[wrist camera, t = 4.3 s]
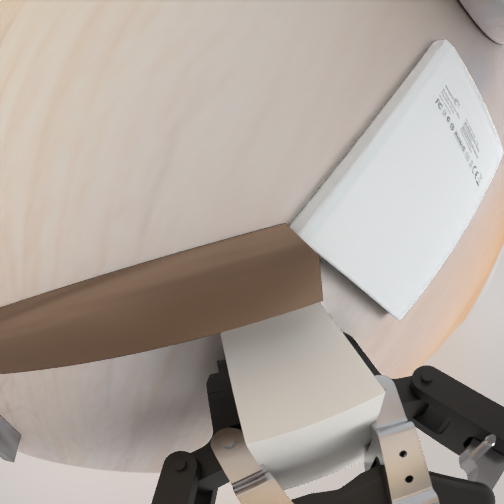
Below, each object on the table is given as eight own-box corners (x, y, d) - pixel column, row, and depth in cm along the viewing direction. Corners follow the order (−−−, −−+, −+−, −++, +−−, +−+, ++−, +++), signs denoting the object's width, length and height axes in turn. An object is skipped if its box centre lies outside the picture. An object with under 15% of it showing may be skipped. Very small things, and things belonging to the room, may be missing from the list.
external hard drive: (282, 224, 11) (427, 41, 9) (384, 307, 14) (488, 151, 12) (297, 238, 10) (450, 37, 7) (401, 323, 13) (507, 156, 11)
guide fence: (-72, 332, 8) (-90, 357, 5) (284, 223, 10) (318, 255, 8) (11, 433, 12) (4, 459, 10) (308, 396, 15) (326, 433, 13)
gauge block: (216, 315, 11) (245, 444, 6) (308, 287, 12) (385, 391, 6) (247, 396, 14) (276, 492, 9) (316, 374, 14) (362, 460, 9)
